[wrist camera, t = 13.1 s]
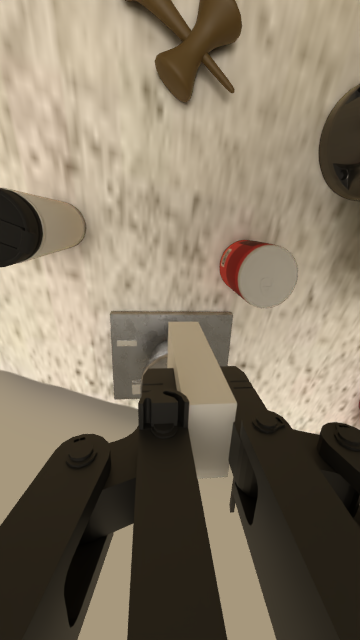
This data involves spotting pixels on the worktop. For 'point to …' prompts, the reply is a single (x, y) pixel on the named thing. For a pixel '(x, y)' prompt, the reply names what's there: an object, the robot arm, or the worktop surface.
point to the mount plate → (158, 341)
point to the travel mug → (36, 226)
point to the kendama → (194, 42)
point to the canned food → (259, 272)
